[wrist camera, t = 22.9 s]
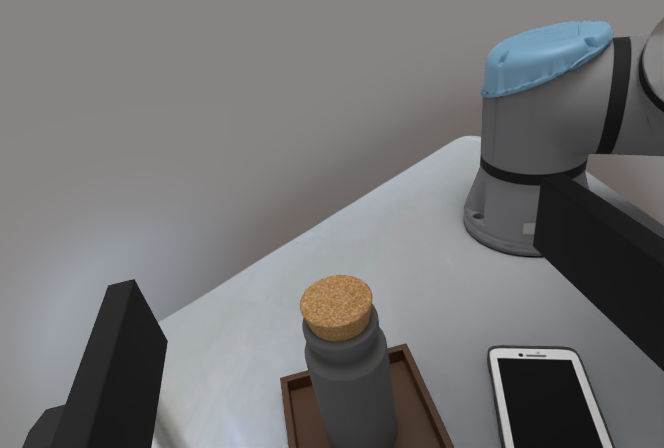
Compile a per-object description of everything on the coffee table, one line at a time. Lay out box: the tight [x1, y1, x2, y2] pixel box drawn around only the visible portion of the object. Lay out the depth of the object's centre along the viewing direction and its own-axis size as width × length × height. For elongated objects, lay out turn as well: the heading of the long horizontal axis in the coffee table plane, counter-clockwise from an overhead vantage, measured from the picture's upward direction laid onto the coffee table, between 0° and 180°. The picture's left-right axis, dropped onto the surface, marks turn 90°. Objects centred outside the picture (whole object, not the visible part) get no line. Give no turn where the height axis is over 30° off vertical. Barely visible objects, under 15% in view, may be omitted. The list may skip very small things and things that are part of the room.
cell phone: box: [488, 345, 615, 448], centre depth 34 cm, size 8×15×1 cm, turn 171°
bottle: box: [300, 275, 397, 448], centre depth 32 cm, size 6×6×15 cm
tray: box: [280, 344, 454, 448], centre depth 36 cm, size 12×12×2 cm
